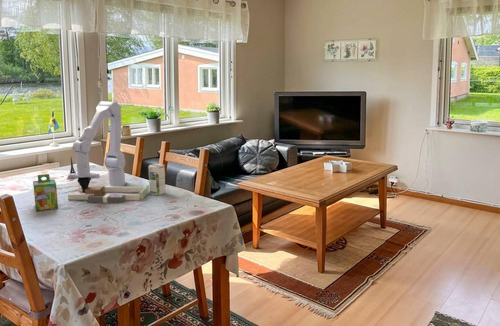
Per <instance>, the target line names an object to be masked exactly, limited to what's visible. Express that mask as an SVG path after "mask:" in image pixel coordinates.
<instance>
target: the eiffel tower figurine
mask: <svg viewBox="0 0 500 326" xmlns="http://www.w3.org/2000/svg"><path fill="white" fill-rule="evenodd" d="M72 173H77V171H75V168H74V163H73V157H72V156H70V171H69V173H68V174H72ZM64 176H65V175H62V176H60V178H65V177H64ZM66 180H78V178H68V177H67V178H66Z"/></svg>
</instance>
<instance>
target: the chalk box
mask: <svg viewBox="0 0 500 326" xmlns="http://www.w3.org/2000/svg"><path fill="white" fill-rule="evenodd" d="M42 178H45V179H42ZM32 183H33V184H32V185H33V196H34V206H35V211H36V212H37V211H38V210H39V211H47V210H54V209H55V208H56V209H59V205H58V202H59V201H58V192H57V182H56V180H55V179H52V178H51V176H50V174H48V173H46V174H38V175H37V180H34V181H32ZM56 209H55V210H56Z"/></svg>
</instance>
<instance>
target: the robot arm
mask: <svg viewBox="0 0 500 326" xmlns="http://www.w3.org/2000/svg"><path fill="white" fill-rule="evenodd" d="M95 108H96V112H95V114H94V116H93V118H92V120H91V122H90V123H89V126H86V127H85V128H83V130H82V132H81V134H80V135H79V137H78V140H75V141H74V142H73V145H72V147H71V149H72V151H73V152H74V155H75V162H76V173H72V174H69V173H68V175H67V178H77V179H76V181H77V182H78V184H79V186H81V188H82V190H83V192H82V194H85V189H86V188H88V186H90V182H91V181H92V179H100V178H101V177H100V173H95V172H91V170H90V169H91V168H90V157H89V154H90V153H89V152H90V151H91V148H92V142H93V140H94V139H95V137H96V135H97V129H98V127H99V126H100V125H101V123H102V122H103V120H104V119H105V118H108V119H109V150H108V151H107V152H106V153H105V157H104V161H103V162H104V163H103V164H104V166H105V167H106V169H107V170H108V171H107V173H108V184H107V185H106V187H125V185H126V184H127V183H128V182H127V181H126V178H125V170H124V168H125V166H126V159H125V154H124V153H123V152H122V151H121V146H122V145H121V142H122V141H121V140H122V139H121V138H122V119H123V118H122V106H121V105H120V104H119V102H116V101H105V100H102V101H101V100H100V101H99V103H98V104H97V106H96V107H95Z"/></svg>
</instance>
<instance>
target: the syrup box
mask: <svg viewBox="0 0 500 326" xmlns="http://www.w3.org/2000/svg"><path fill="white" fill-rule="evenodd" d="M165 176H166V173H165V164H159V163H158V164H157V163H153V164H149V165H148V183H149V184H148V185H149V195H153V196H160V195H164V194H166V177H165Z"/></svg>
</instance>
